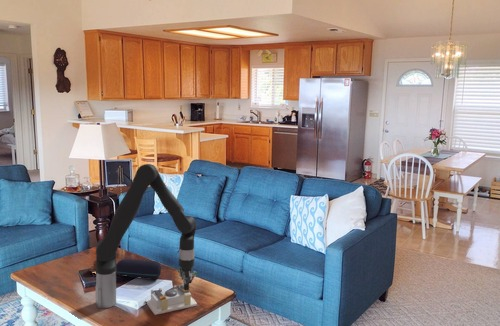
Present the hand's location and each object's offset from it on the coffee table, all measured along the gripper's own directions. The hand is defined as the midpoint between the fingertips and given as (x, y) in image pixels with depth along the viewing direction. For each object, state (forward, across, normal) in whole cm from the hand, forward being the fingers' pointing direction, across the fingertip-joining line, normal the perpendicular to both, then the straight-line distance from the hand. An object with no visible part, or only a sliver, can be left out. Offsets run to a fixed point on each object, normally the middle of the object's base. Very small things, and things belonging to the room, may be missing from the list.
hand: (186, 289), depth 224 cm
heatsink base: (+8, -5, -6) cm, 11 cm away
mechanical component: (+8, -18, +8) cm, 21 cm away
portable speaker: (+8, -42, -11) cm, 44 cm away
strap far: (+2, -5, 0) cm, 5 cm away
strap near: (+3, -5, -12) cm, 13 cm away
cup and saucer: (+8, -58, -30) cm, 65 cm away
